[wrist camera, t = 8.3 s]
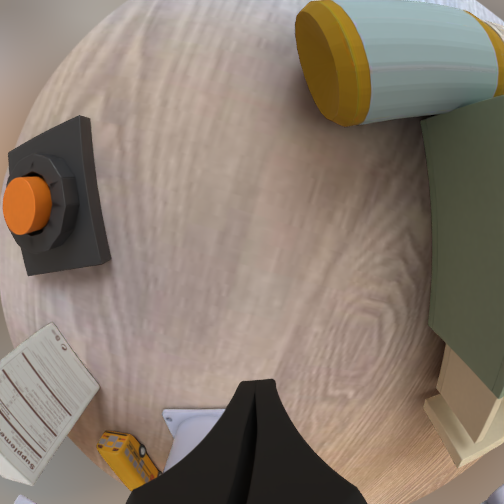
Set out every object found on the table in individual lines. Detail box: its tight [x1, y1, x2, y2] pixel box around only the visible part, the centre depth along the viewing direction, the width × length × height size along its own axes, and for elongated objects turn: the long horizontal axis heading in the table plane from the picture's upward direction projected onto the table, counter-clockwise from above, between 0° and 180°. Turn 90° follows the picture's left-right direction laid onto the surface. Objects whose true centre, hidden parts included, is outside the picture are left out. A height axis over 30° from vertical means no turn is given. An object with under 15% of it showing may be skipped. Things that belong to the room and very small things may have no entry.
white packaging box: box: [0, 322, 100, 486], centre depth 15 cm, size 7×7×13 cm
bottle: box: [295, 0, 504, 127], centre depth 11 cm, size 7×7×15 cm
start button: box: [3, 176, 52, 235], centre depth 14 cm, size 4×4×2 cm
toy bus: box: [96, 431, 163, 491], centre depth 21 cm, size 3×10×4 cm, turn 9°
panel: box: [6, 115, 111, 276], centre depth 16 cm, size 10×8×3 cm
